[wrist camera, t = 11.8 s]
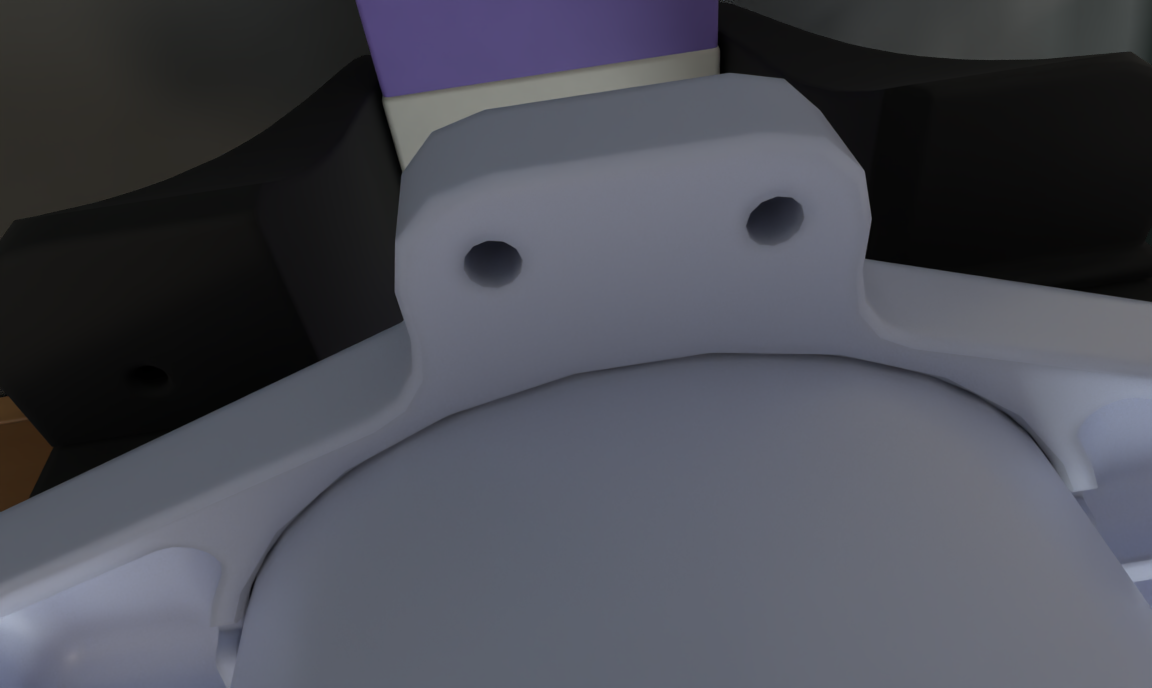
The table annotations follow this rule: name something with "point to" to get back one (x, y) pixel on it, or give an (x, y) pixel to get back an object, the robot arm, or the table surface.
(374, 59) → the purple block cream band
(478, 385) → the robot arm
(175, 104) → the table surface
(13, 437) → the cabinet
